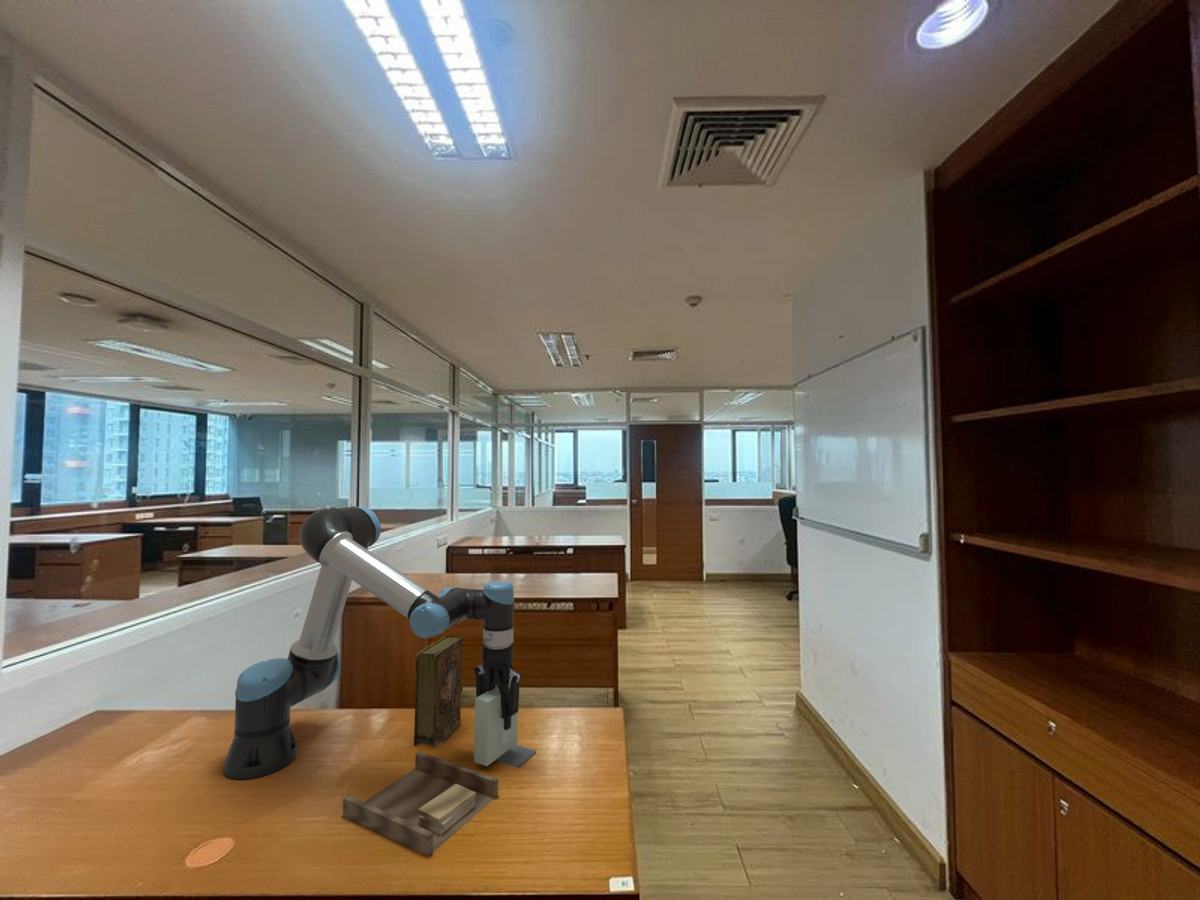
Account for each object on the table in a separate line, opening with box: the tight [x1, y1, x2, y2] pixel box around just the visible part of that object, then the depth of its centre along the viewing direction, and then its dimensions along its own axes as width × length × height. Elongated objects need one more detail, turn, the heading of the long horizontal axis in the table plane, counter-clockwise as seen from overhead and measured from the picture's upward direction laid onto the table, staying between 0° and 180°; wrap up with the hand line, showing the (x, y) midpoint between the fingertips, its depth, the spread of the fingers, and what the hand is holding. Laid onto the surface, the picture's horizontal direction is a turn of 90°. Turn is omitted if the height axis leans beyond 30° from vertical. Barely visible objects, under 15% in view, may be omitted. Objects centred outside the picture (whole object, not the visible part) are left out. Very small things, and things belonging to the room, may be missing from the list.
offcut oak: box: [418, 784, 476, 825], centre depth 106 cm, size 6×10×1 cm, turn 149°
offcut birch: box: [418, 801, 475, 835], centre depth 106 cm, size 6×10×1 cm, turn 153°
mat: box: [495, 744, 537, 769], centre depth 128 cm, size 12×18×1 cm, turn 153°
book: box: [413, 635, 463, 749], centre depth 141 cm, size 16×6×25 cm, turn 168°
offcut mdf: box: [419, 799, 474, 830], centre depth 106 cm, size 6×10×1 cm, turn 158°
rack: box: [342, 751, 499, 857], centre depth 109 cm, size 24×20×5 cm
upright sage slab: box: [473, 684, 519, 767], centre depth 128 cm, size 4×12×15 cm, turn 153°
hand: (496, 739), depth 128 cm, fingers closed on upright sage slab, 4 cm apart
